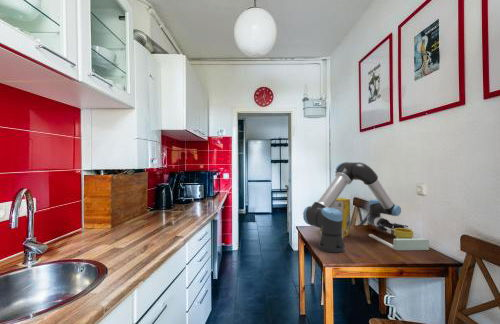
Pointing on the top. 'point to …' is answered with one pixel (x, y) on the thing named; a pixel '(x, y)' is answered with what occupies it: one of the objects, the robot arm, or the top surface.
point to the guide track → (406, 243)
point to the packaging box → (343, 214)
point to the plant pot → (403, 233)
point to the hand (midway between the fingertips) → (400, 231)
